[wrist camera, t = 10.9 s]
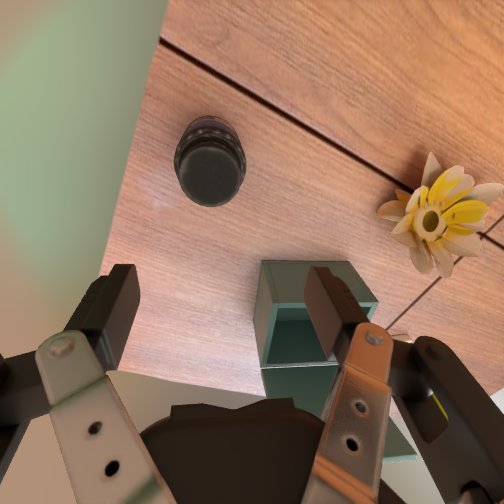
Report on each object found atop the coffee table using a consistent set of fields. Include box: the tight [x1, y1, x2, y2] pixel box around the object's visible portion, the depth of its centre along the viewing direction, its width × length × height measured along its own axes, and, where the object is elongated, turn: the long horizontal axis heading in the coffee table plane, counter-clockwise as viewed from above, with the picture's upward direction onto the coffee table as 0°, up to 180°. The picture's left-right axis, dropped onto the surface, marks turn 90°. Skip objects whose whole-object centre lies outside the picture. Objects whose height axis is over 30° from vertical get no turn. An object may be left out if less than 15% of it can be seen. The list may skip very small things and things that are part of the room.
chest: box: [253, 260, 379, 368], centre depth 39 cm, size 13×14×9 cm
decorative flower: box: [377, 152, 504, 279], centre depth 32 cm, size 15×11×10 cm
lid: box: [261, 365, 417, 463], centre depth 32 cm, size 13×14×5 cm
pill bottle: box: [174, 116, 246, 207], centre depth 24 cm, size 6×6×11 cm
